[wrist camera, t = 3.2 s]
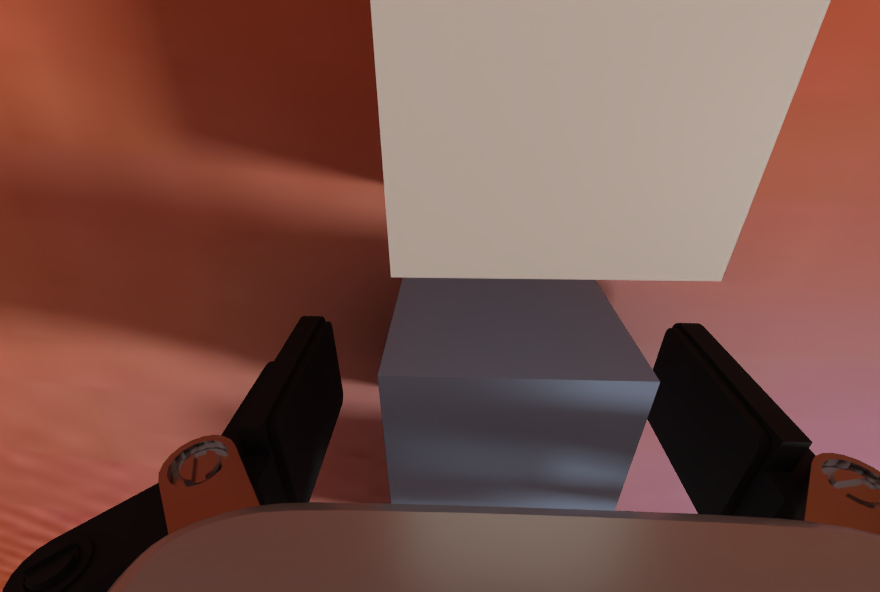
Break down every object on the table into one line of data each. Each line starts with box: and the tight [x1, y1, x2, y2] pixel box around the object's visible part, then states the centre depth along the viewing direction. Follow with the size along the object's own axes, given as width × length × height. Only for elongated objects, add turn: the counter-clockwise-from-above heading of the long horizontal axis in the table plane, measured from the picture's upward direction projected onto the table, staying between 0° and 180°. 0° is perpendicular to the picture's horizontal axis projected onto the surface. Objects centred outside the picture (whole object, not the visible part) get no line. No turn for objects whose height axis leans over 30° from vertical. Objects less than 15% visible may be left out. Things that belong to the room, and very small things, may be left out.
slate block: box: [378, 277, 660, 511], centre depth 11 cm, size 5×5×5 cm
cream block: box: [370, 0, 831, 281], centre depth 7 cm, size 5×5×5 cm
